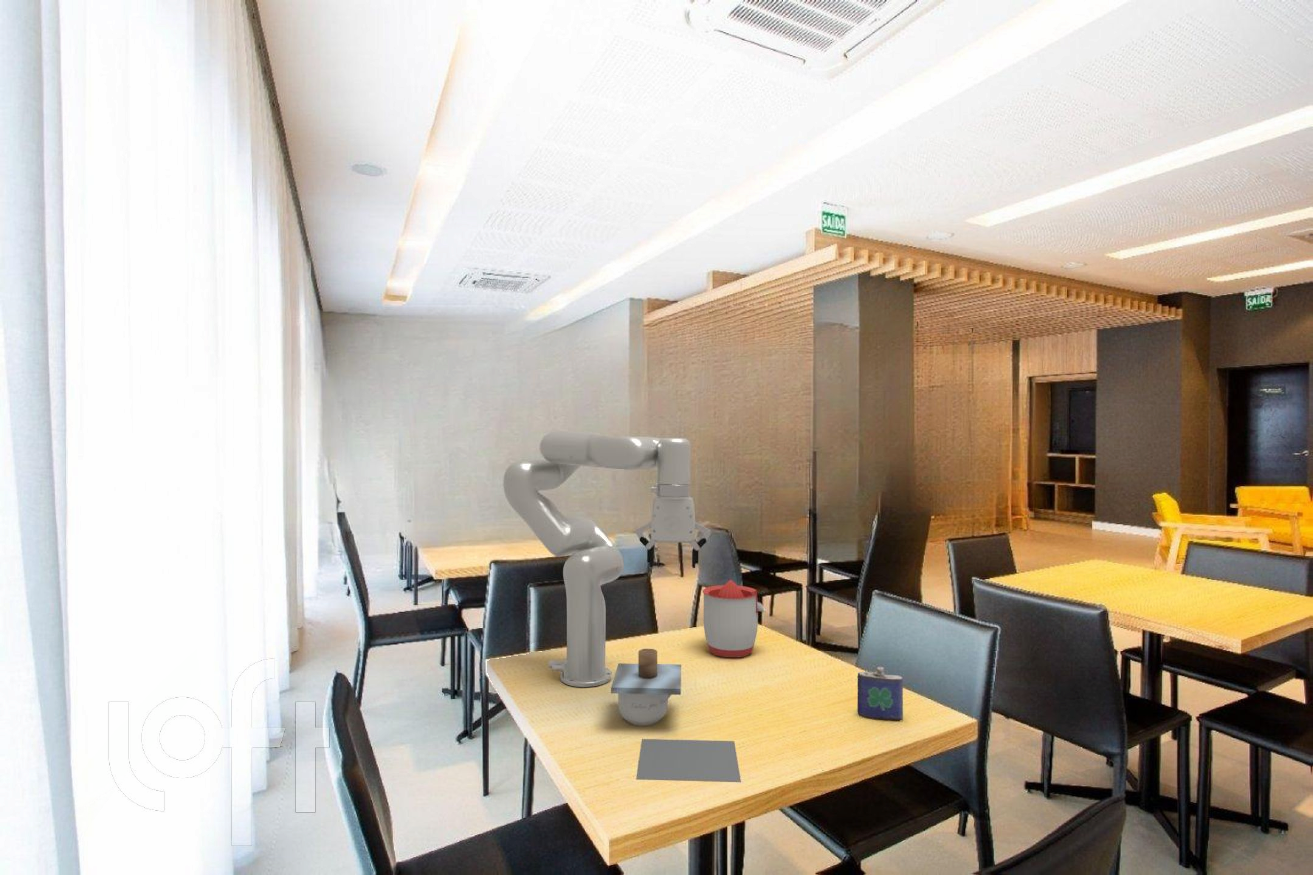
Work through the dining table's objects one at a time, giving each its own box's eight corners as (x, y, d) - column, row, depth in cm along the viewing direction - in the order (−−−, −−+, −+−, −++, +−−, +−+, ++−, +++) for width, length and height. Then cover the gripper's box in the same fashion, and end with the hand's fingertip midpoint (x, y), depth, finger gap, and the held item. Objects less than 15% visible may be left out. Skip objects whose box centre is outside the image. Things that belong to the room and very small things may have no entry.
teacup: (630, 735, 128) (630, 695, 128) (608, 715, 138) (608, 677, 138) (690, 721, 135) (690, 683, 135) (665, 703, 144) (666, 667, 144)
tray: (636, 781, 111) (636, 778, 111) (641, 740, 126) (641, 738, 126) (740, 784, 110) (741, 781, 110) (734, 742, 125) (734, 740, 125)
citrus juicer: (766, 662, 170) (766, 587, 171) (700, 659, 173) (700, 585, 173) (764, 644, 186) (764, 575, 186) (703, 641, 188) (704, 573, 188)
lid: (611, 693, 129) (611, 662, 129) (618, 668, 143) (618, 640, 143) (680, 694, 129) (680, 663, 129) (681, 669, 143) (681, 641, 143)
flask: (902, 717, 137) (902, 666, 137) (903, 722, 134) (903, 671, 134) (857, 712, 140) (857, 662, 140) (857, 717, 137) (857, 667, 137)
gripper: (634, 492, 144) (633, 568, 144) (711, 493, 143) (710, 570, 143) (637, 489, 152) (637, 562, 152) (711, 491, 151) (710, 564, 150)
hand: (672, 566), depth 147 cm, fingers open, 9 cm apart
